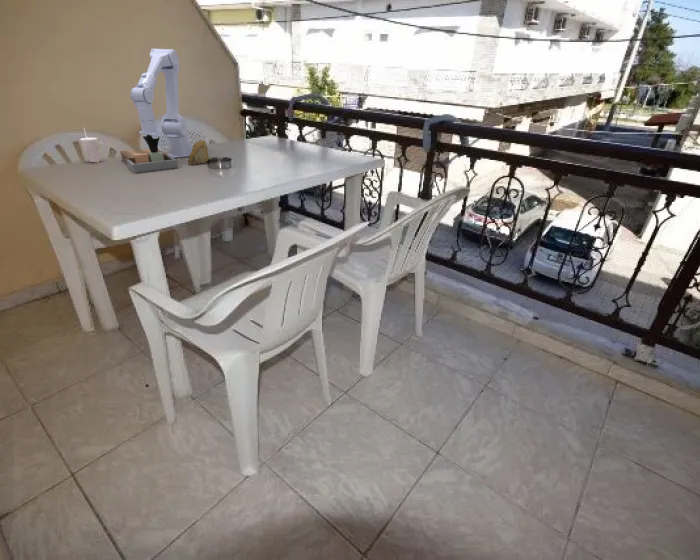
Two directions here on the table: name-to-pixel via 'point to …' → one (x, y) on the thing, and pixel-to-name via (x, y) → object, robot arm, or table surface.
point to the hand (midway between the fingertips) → (154, 153)
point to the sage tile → (156, 156)
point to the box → (153, 165)
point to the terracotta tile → (141, 158)
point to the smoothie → (91, 147)
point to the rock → (198, 153)
